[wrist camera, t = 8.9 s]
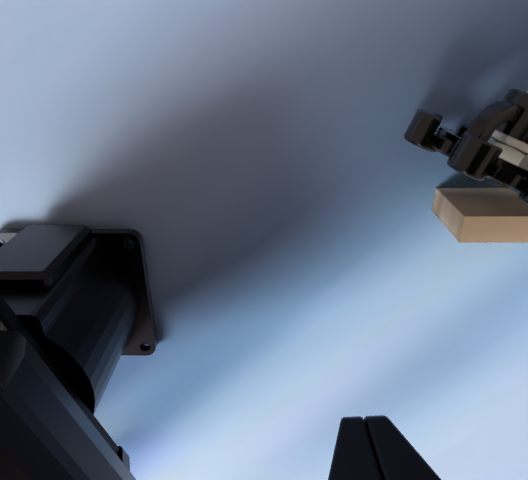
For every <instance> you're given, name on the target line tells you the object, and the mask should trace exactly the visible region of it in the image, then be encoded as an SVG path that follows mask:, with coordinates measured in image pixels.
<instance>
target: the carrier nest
mask: <svg viewBox="0 0 528 480" xmlns="http://www.w3.org/2000/svg"><path fill="white" fill-rule="evenodd" d="M518 195H519V194H518V193H517V192H515V191H513V190H511V189H509V188H436V190H435V196H434V202H433V207H432V211H433V213H434V214H435V215H436V216H437V217H438V218H439V219H440V221H441V222H442V223H443V224H444V225H445V226H446V228H447V229H448V230H449V231H450V232H451V233H452V235H453V236H454V237H455V238H456V239H457V240H458V242H528V204H526V203H524V202H523V201H521V200H520V199H519V198H518Z"/></svg>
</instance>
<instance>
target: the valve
mask: <svg viewBox="0 0 528 480" xmlns="http://www.w3.org/2000/svg"><path fill="white" fill-rule="evenodd" d="M441 120H442V116H440V115H438V114H436V113H434V112H431V111H429V110H427V109H424V108H422V109H418V110H417V112H416V114H415V116H414V117H413V119H412V121H411V123H410V125H409V127H408V128H407V130H406V132H405V134H404V138H405V139H406V140H407V141H408V142H410V143H412V144H414V145H416V146H418V147H420V148H422V149H425V150H427V151H430V152H435V151H438V152H440V153H442V154H444V155H446V156H448V157H449V159H448V161H447V164H448V165H449V166H450V167H451V168H453V169H454V170H456V171H458V172H460V173H462V174H464V175H466V176H468V177H470V178H473V179H475V180H478V181H483V180H485V178H488V179H490V180H493V181H495V182H497V183H499V184H501V185H503V186H505V187H507V188H509V189H511V190H513V191H515V192H517V193H518V194H519V195H518V198H519V199H520V200H521V201H523V202H524V203H526V204H528V91H527V92H523V91H520V90H517V89H509V90H508V91H507V93H506V94H505V96H504V98H503V99H502V100H501V101H497V102H494V103H492V104H490V105H489V106H487V107H486V108H485V109H483V110H482V111H481V112H480V113H479V114H478V115H477V116H476V117H475V119H474V120H473V121H472V123H471V124H470V126H469V127H467V126H465V125H462V124H460V125H459V127H458V129H457V130H456V131H453V130H451V129H448V128H445V127H440V128H439V129H437V128H438V127H439V125H440V123H441ZM493 137H494V138H493ZM495 138H496V139H495Z"/></svg>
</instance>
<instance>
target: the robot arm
mask: <svg viewBox="0 0 528 480" xmlns="http://www.w3.org/2000/svg"><path fill="white" fill-rule="evenodd" d="M127 238H128V239H131V240H132V241H133V242H134V245H129V244H128V243H126V241H125V239H127ZM0 239H2V240H3V241H5V244H2V243H1V242H0V480H136V479H135V478H134V476H133V475H132V474H131V473H130V462H129V456H128V455H127V453H126V452H125V451H124V449H123V448H122V447H121V446H117V445H116V444H115V443H114V441H113V440H112V439H111V437H110V436H109V435H108V433H107V432H106V431H105V430H104V428H103V427H102V426H101V424H100V423H99V422H98V420H97V419H96V418H95V417H94V413H95V411H96V409H97V406H98V404H99V402H100V400H101V398H102V395H103V393H104V391H105V389H106V387H107V385H108V382H109V380H110V378H111V376H112V374H113V372H114V369H115V367H116V365H117V363H118V361H119V358H120V356H121V355H150V354H152V353H153V352H154V351H155V349H156V346H157V337H156V330H155V323H154V316H153V309H152V302H151V295H150V288H149V281H148V274H147V267H146V260H145V253H144V246H143V239H142V237H141V235H140V234H139V233H138V232H137V231H135V230H131V229H91V228H89V227H87V226H86V225H28V226H26V227H25V228H24V229H1V230H0ZM142 343H147V344H148V345H149V346H145V345H144V344H142ZM328 480H441V479H440V478H439V477H438V475H437V474H436V473H435V472H434V471H433V470H432V468H431V467H430V466H429V465H428V464H427V463H426V461H425V460H424V459H423V458H422V457H421V456H420V454H419V453H418V452H417V451H416V450H415V449H414V447H413V446H412V445H411V444H410V443H409V442H408V440H407V439H406V438H405V437H404V436H403V435H402V433H401V432H400V431H399V430H398V429H397V428H396V427H395V425H394V424H393V423H392V422H391V421H390V420H389V418H387V417H386V416H383V415H379V416H366V417H365V418H364V419H363V418H362V417H360V416H357V417H343V418H342V419H341V422H340V426H339V431H338V436H337V440H336V445H335V450H334V454H333V459H332V464H331V469H330V473H329V478H328Z"/></svg>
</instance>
